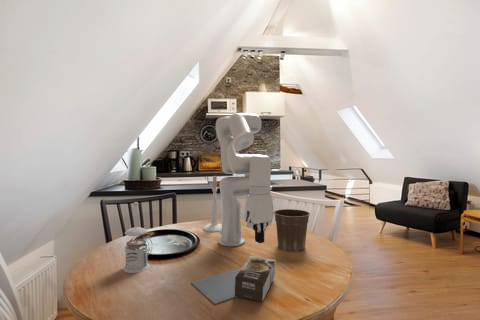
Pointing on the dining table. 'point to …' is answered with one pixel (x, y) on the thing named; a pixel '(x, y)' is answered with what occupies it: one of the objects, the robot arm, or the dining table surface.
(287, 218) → the plant pot
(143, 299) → the dining table surface
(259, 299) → the coffee box
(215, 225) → the candlestick
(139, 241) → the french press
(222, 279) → the mat
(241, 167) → the robot arm
